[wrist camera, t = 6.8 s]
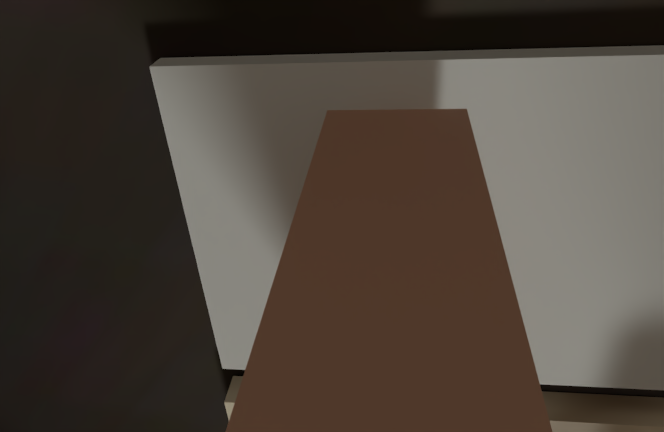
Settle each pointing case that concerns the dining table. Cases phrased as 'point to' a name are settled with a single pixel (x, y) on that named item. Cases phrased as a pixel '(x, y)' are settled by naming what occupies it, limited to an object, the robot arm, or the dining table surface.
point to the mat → (499, 170)
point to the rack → (574, 411)
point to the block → (392, 292)
